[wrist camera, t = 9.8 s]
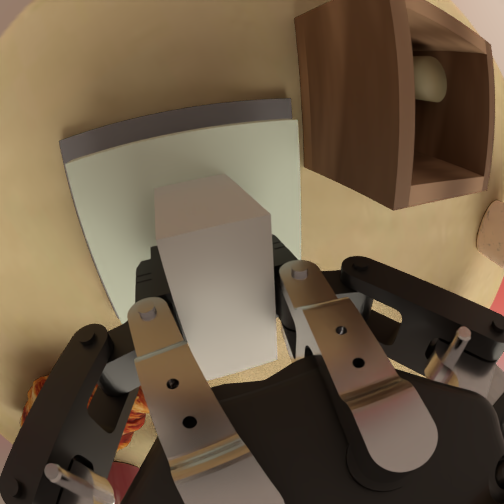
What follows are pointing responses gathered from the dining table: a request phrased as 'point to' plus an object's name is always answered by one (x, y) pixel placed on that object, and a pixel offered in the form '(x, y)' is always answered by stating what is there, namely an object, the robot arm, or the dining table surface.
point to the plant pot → (121, 479)
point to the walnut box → (396, 100)
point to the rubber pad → (170, 128)
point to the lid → (199, 229)
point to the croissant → (133, 421)
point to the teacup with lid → (492, 233)
